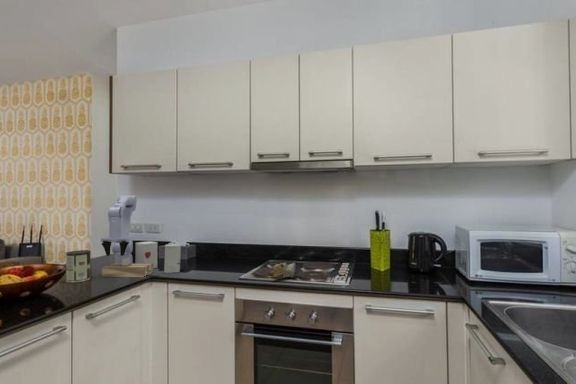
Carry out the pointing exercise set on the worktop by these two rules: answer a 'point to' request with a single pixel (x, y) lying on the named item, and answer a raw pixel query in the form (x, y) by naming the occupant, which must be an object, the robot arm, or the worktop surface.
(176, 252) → the skincare box
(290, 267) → the ceramic sculpture
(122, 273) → the block
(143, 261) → the supplement box
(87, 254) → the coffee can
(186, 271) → the worktop surface
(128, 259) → the bracket plate
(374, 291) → the worktop surface
